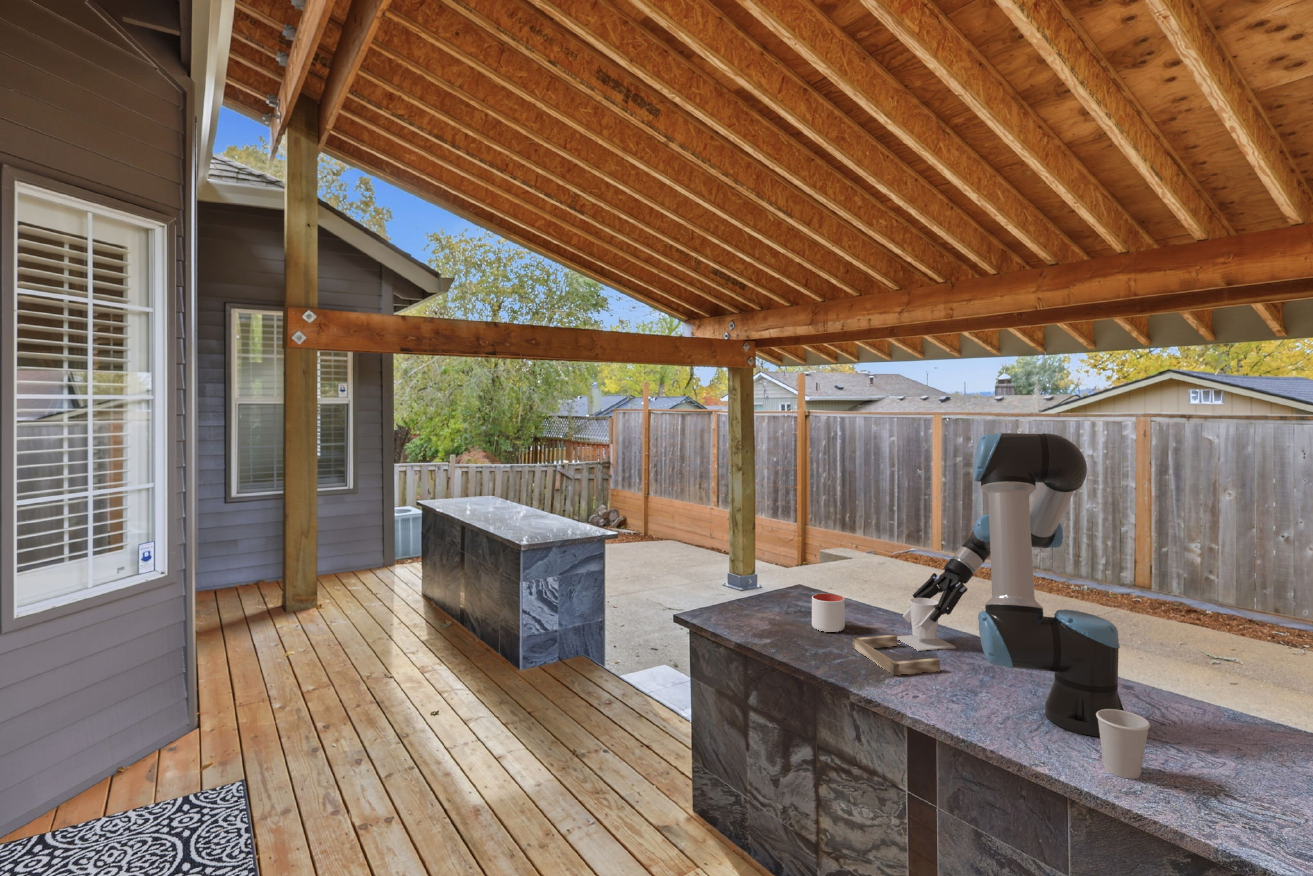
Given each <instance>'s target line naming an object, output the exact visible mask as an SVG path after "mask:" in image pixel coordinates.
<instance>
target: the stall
mask: <svg viewBox="0 0 1313 876" xmlns="http://www.w3.org/2000/svg"><path fill="white" fill-rule="evenodd" d="M851 640H852V641H851V648H852V647H853V648H854V649H856V650H857V651H858V652H859V653H861V654H863V655H864V656H866V657H867V658H869V659H870V660H872V661H873V662H875V663H876V664H877V665H876V664H875V663H874V664H875V665H876V666H878V665H879V666H880V668H881V667H882V668H883V669H882V668H881V669H882V670H884V669H885V670H887V671H888V672H890V673H891V674H893V675H898V676H902V675H901V674H908V675H915V674H916V673H918V674H923V673H922V672H928V673H936V671H938V672H940V670H941V659H939V658H938V657H933V658H932V657H931V658H923V659H920V658H919V659H911V660H900V661H895V660H893V659H892V658H890V657H888V655H885V654H883V653H882V652H880V651H879V650H878V648H877V647H888V648H892V647H891V646H897V647H898V640H897V635H895V634H888V635H887V634H886V635H876V636H874V635H873V636H865V637H862V636H861V637H855V638H854V637H853V638H851ZM874 648H877V649H874ZM858 652H857V653H858ZM859 653H858V654H859ZM861 654H860V655H861ZM864 656H863V657H864ZM866 657H865V658H866ZM867 658H866V659H867ZM869 659H868V660H869ZM870 660H869V661H870ZM872 661H871V662H872ZM873 662H872V663H873ZM879 666H878V667H879ZM885 670H884V671H885ZM887 671H886V672H887ZM888 672H887V673H888ZM890 673H889V674H890ZM891 674H890V675H891ZM893 675H892V676H893ZM916 675H917V674H916Z"/></svg>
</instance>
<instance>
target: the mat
mask: <svg viewBox="0 0 1313 876" xmlns="http://www.w3.org/2000/svg"><path fill="white" fill-rule="evenodd" d="M896 636H897V635H896ZM898 640H900V641H901V643H902V642H903V643H902V644H904V643H905V644H904V645H906V644H907V645H909V646H911V647H913V648H914V649H916V650H917V652H918V651H921V652H927V651H926V650H931V651H938V650H937V649H940V650H939V651H941V649H942V650H950V649H956V646H955V645H953V644H952V643H949V642H947V641H946V640H943V639H941V638H939V637H935V638H931V639H928V638H919V637H916V636H914V635H913V634H910V635H909V634H908V635H898V636H897V641H898ZM900 641H899V642H900ZM907 645H906V646H907ZM909 646H908V647H909ZM911 647H910V648H911ZM913 648H912V649H913ZM914 649H913V650H914ZM916 650H915V651H916Z"/></svg>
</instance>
